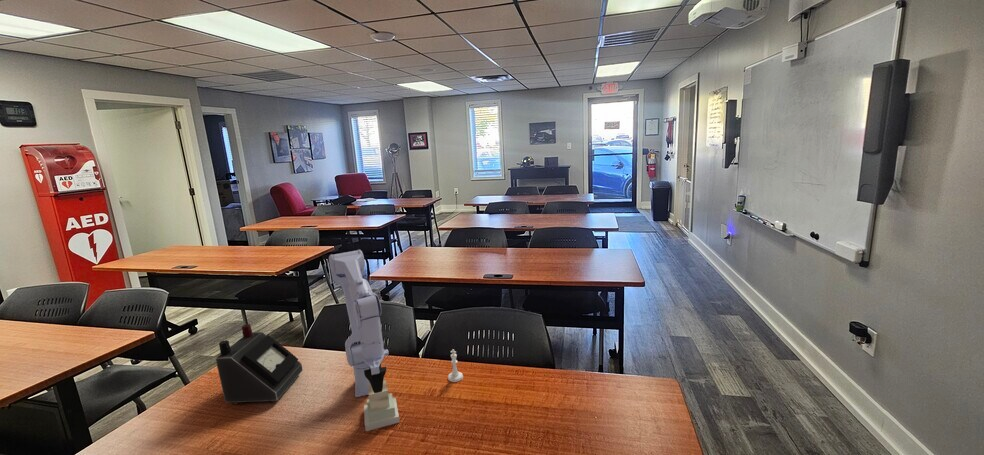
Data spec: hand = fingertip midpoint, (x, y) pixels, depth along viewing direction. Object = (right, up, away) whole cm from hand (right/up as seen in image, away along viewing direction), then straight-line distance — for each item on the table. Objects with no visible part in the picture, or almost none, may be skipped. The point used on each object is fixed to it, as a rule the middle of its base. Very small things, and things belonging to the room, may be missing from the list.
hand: (377, 383), depth 111 cm
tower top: (+1, -8, +2) cm, 9 cm away
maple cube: (0, -6, +1) cm, 6 cm away
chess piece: (+20, -6, +19) cm, 28 cm away
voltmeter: (-41, -9, +19) cm, 46 cm away
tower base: (+1, -11, +3) cm, 11 cm away
